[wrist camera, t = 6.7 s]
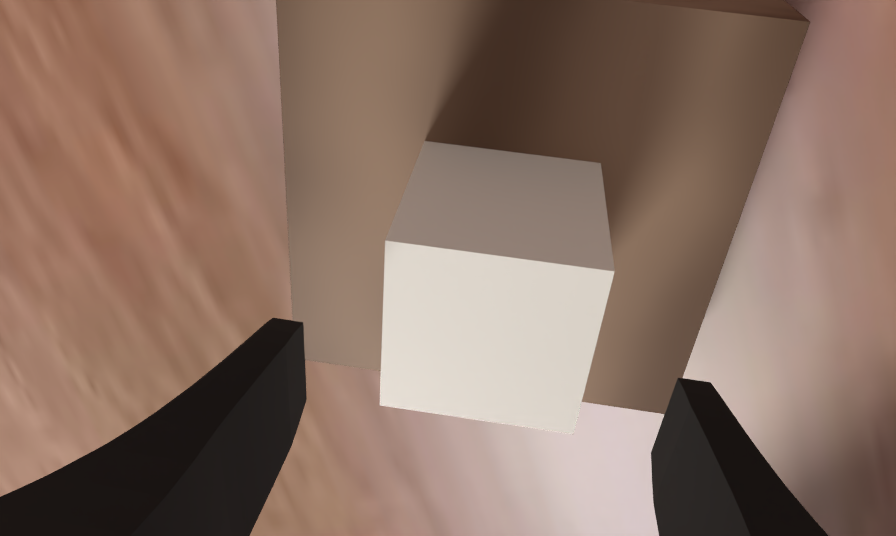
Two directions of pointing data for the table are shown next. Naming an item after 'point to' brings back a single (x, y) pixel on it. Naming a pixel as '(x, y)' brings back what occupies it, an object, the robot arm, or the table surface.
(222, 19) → the table surface
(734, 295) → the table surface
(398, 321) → the cream block
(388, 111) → the walnut block
